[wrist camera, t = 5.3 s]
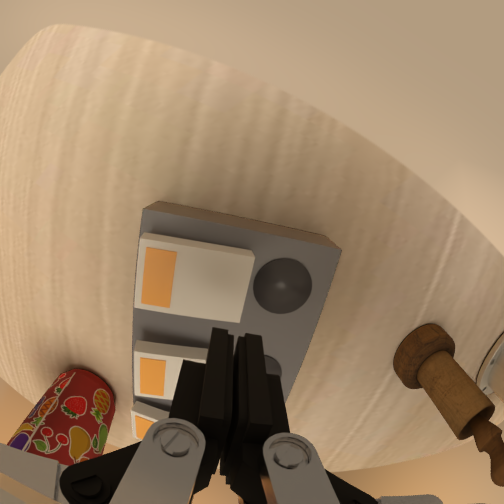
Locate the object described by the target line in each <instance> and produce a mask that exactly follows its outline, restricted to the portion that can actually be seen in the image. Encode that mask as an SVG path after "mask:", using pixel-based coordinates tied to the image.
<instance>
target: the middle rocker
mask: <svg viewBox="0 0 504 504" xmlns="http://www.w3.org/2000/svg"><path fill="white" fill-rule="evenodd" d="M207 353H208V349H206V348H196V347H187V346H178V345H170V344H162V343H154V342H147V341H141V340H136V344H135V349H134V391H135V395H137V396H144V397H151V398H159V399H168V400H173V397H174V393H175V389H176V385H177V381H178V377H179V373H180V369H181V365H182V362H183V359H185V360H190V361H194V362H199V363H204V364H206V358H207Z"/></svg>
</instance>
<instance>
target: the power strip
mask: <svg viewBox="0 0 504 504" xmlns="http://www.w3.org/2000/svg"><path fill="white" fill-rule="evenodd" d="M144 232H146V233H152V234H158V235H164V236H170V237H176V238H182V239H188V240H194V241H200V242H206V243H212V244H217V245H223V246H229V247H235V248H241V249H247V250H252V252H253V254H254V256H255V261H254V265H253V269H252V273H251V277H250V281H249V285H248V290H247V294H246V298H245V302H244V306H243V310H242V314H241V319H240V323H235V322H227V321H219V320H211V319H203V318H196V317H189V316H182V315H176V314H169V313H163V312H157V311H151V310H145V309H140V308H134V306H133V335H132V376H133V403H134V404H135V402H136V401H139V402H142V403H144V404H147V405H150V406H152V407H155V408H158V409H161V410H164V411H167V412H170V409H171V405H172V401H173V400H168V399H159V398H151V397H144V396H137V395H135V391H134V349H135V344H136V340H141V341H147V342H154V343H162V344H170V345H178V346H187V347H196V348H206V349H208V348H209V342H210V337H211V332H212V327H217V328H222V329H227V330H228V334H231V335H234V351H235V347H236V343H237V339H238V336H243V337H244V335H245V333H250V334H256V335H261V336H262V341H263V349H264V357H265V365H266V373H267V374H275V375H279V376H280V379H281V385H282V391H283V396H284V402H285V403H286V400H287V398H288V396H289V393H290V391H291V389H292V386H293V384H294V382H295V379H296V377H297V374H298V372H299V370H300V367H301V365H302V362H303V360H304V357H305V355H306V352H307V350H308V347H309V344H310V342H311V339H312V336H313V334H314V331H315V328H316V326H317V323H318V320H319V317H320V315H321V312H322V309H323V306H324V303H325V300H326V298H327V295H328V292H329V289H330V286H331V283H332V280H333V277H334V273H335V270H336V267H337V264H338V261H339V258H340V254H341V251H342V250H341V249H340V248H339V247H338V246H337V245H336V244H334V243H333V242H332V241H331V240H330V239H329V238H327V237H326V236H324V235H319V234H315V233H311V232H306V231H302V230H297V229H293V228H289V227H284V226H280V225H275V224H270V223H266V222H261V221H256V220H252V219H247V218H242V217H238V216H233V215H228V214H223V213H218V212H213V211H208V210H203V209H198V208H193V207H188V206H183V205H177V204H172V203H167V202H161V201H157V202H155V203H153V204H151V205H149V206H147V207H145V208H143V212H142V219H141V227H140V235H139V242H140V237H141V236H142V235H143V233H144ZM138 251H139V244H138ZM137 261H138V253H137ZM136 272H137V264H136ZM135 285H136V275H135ZM134 301H135V289H134ZM233 355H234V353H233Z"/></svg>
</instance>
